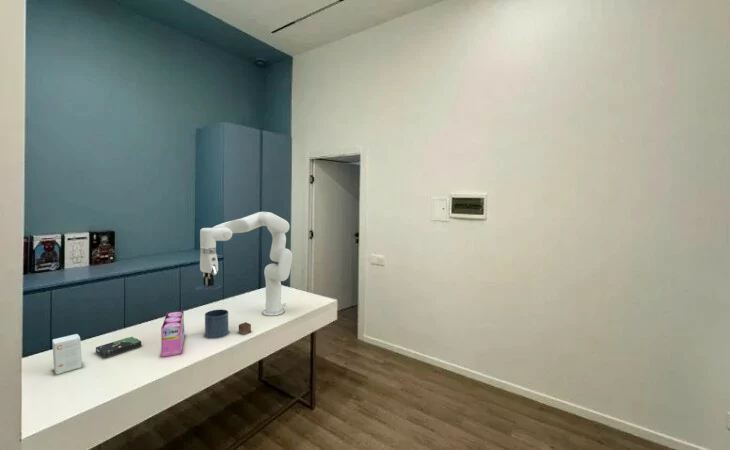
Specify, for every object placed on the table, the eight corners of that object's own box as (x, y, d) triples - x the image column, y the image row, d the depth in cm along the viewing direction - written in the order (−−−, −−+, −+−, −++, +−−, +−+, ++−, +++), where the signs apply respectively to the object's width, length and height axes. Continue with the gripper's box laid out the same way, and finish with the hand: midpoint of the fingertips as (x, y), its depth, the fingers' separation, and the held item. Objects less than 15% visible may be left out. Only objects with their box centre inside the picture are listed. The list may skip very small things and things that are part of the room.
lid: (212, 284, 179) (212, 273, 179) (226, 287, 173) (226, 276, 172) (190, 289, 169) (190, 277, 169) (204, 293, 162) (204, 281, 162)
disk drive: (104, 359, 142) (142, 346, 155) (104, 353, 142) (141, 340, 154) (95, 353, 147) (132, 341, 160) (95, 347, 147) (131, 335, 160)
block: (245, 330, 177) (245, 322, 176) (250, 332, 174) (250, 324, 174) (238, 332, 173) (238, 324, 173) (243, 334, 170) (243, 326, 170)
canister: (220, 328, 178) (220, 308, 178) (232, 333, 172) (232, 312, 171) (200, 334, 169) (200, 313, 168) (212, 340, 163) (212, 318, 162)
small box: (79, 362, 139) (78, 333, 138) (82, 367, 134) (80, 337, 134) (53, 369, 132) (51, 339, 131) (55, 375, 128) (54, 343, 127)
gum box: (167, 336, 166) (167, 311, 165) (185, 334, 169) (184, 309, 168) (161, 357, 144) (160, 328, 143) (181, 354, 148) (180, 325, 147)
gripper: (223, 251, 168) (224, 286, 170) (206, 248, 177) (206, 281, 178) (210, 253, 162) (210, 289, 163) (192, 250, 171) (193, 284, 172)
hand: (208, 284), depth 171 cm, fingers closed on lid, 3 cm apart
